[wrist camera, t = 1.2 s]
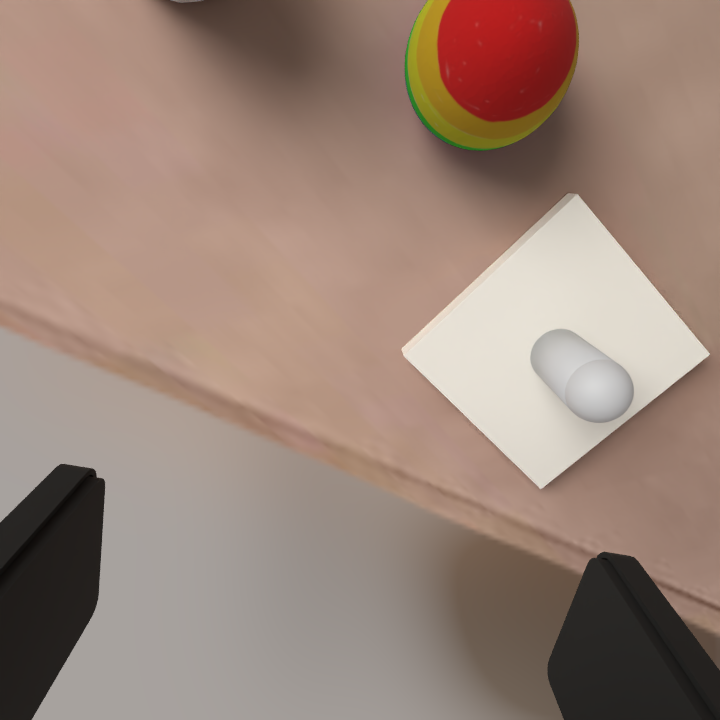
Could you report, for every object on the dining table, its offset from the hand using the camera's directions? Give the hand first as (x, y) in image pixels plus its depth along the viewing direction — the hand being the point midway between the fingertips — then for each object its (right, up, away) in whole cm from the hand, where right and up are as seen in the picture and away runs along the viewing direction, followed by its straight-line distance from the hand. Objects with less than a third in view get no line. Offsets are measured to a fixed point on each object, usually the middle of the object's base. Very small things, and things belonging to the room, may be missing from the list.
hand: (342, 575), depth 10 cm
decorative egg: (+7, +20, +21) cm, 30 cm away
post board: (+13, +5, +26) cm, 29 cm away
